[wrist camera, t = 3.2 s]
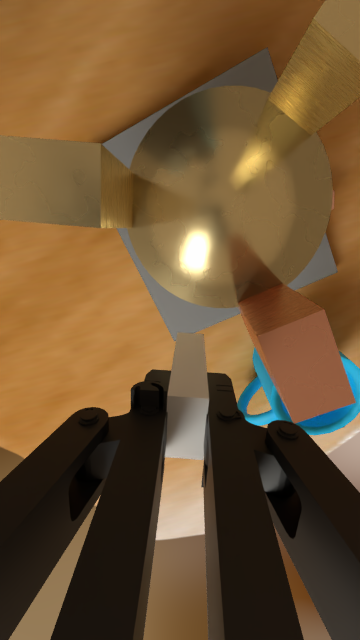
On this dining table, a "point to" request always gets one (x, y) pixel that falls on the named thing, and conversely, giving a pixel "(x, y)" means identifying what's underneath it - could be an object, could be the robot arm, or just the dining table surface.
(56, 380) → the dining table surface
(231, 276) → the three-blade desk fan
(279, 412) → the mug
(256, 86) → the post base
